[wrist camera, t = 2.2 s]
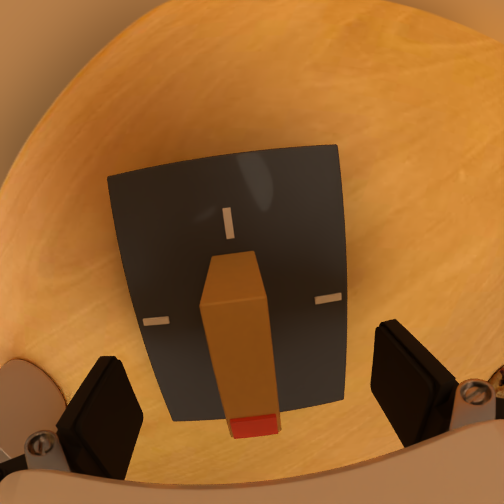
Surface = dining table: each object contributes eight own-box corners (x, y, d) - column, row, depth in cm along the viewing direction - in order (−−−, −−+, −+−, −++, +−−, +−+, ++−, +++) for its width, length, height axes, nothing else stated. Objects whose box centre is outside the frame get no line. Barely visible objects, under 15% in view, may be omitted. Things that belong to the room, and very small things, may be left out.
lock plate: (126, 176, 16) (104, 176, 13) (320, 149, 16) (339, 143, 13) (178, 393, 19) (172, 423, 16) (331, 373, 20) (344, 401, 17)
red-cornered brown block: (211, 255, 14) (197, 307, 8) (254, 250, 14) (267, 299, 8) (230, 362, 15) (231, 442, 10) (267, 357, 15) (282, 436, 10)
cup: (23, 343, 18) (-38, 407, 9) (105, 428, 20) (75, 506, 12) (-3, 372, 19) (-50, 426, 10) (68, 444, 21) (39, 507, 12)
